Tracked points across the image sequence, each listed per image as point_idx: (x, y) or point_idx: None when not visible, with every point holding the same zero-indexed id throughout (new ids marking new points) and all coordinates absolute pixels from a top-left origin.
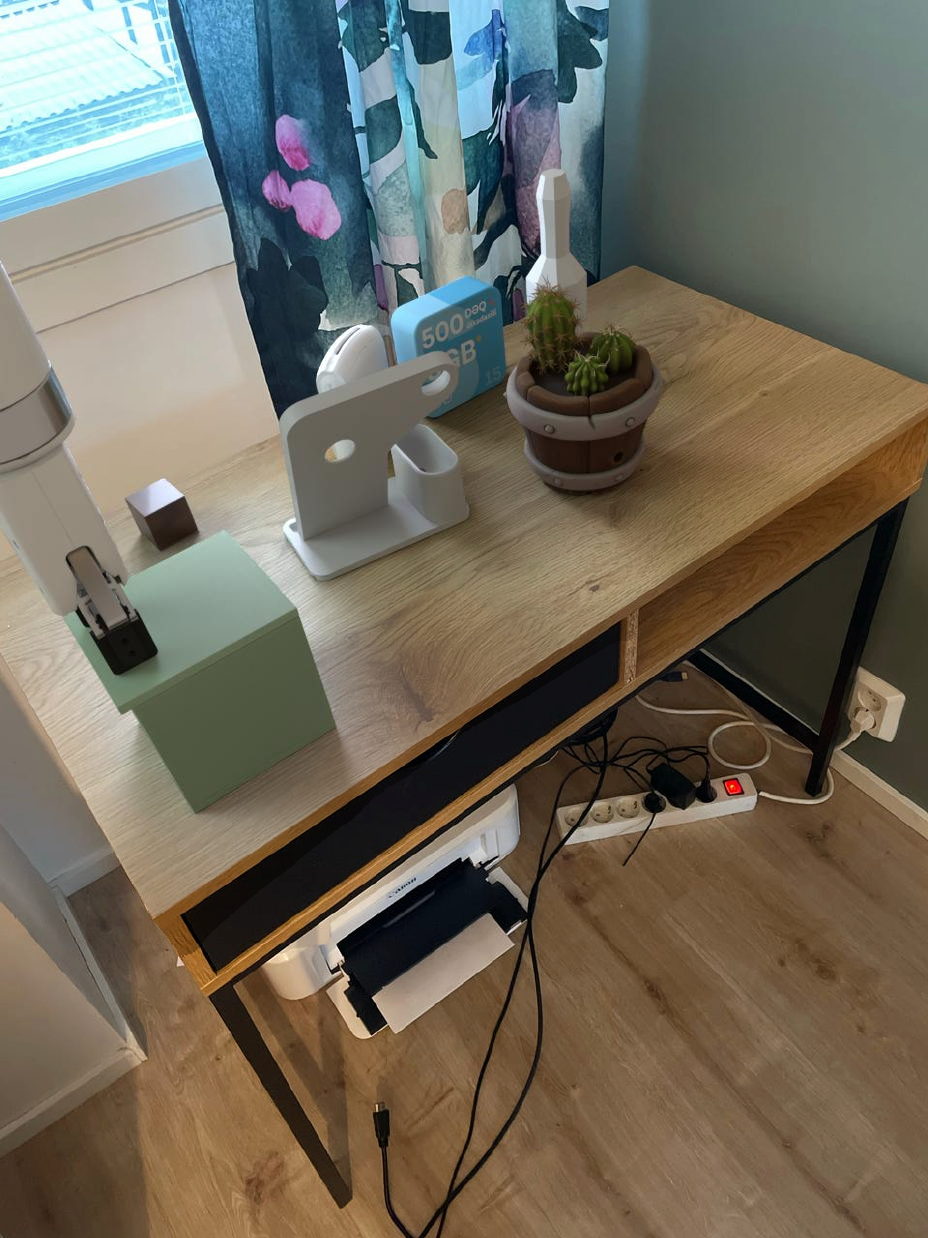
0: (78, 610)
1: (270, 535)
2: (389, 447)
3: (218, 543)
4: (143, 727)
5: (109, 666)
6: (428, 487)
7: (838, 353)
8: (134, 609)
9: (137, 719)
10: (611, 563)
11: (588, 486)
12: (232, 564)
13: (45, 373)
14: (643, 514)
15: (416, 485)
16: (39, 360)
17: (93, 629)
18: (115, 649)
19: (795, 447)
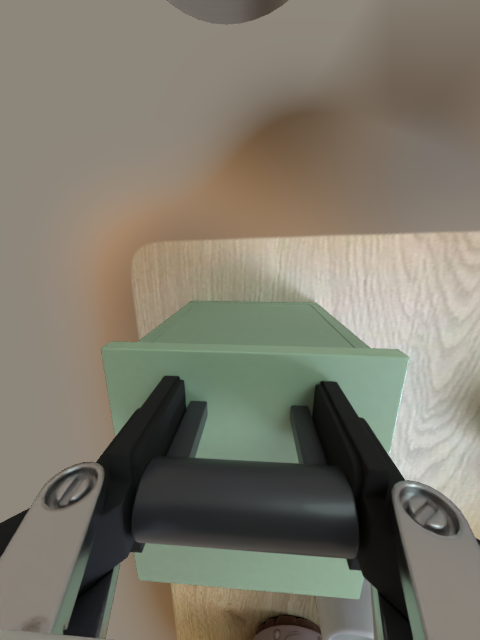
0: (329, 414)
1: (428, 481)
2: None
3: (338, 582)
4: (163, 335)
5: (156, 387)
6: (331, 611)
7: None
8: (140, 548)
9: (277, 313)
10: (202, 591)
11: (259, 637)
12: (278, 573)
13: None
14: (224, 624)
15: (347, 603)
16: None
17: (30, 510)
18: (113, 441)
19: None
